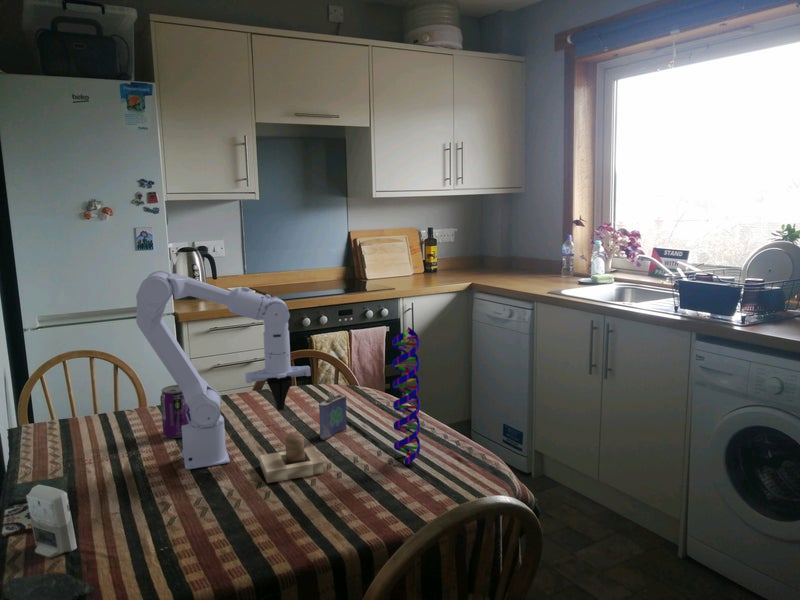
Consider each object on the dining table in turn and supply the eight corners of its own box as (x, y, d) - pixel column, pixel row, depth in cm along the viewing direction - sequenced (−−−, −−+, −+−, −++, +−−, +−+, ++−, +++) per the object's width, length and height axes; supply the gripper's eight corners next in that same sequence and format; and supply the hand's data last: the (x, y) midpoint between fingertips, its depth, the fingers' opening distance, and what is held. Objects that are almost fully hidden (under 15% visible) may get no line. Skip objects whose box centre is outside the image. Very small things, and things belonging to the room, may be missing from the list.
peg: (288, 474, 137) (287, 443, 135) (284, 466, 140) (283, 436, 139) (307, 470, 138) (306, 440, 137) (302, 463, 142) (301, 433, 141)
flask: (325, 441, 154) (324, 398, 152) (316, 438, 156) (314, 396, 154) (349, 429, 162) (348, 388, 160) (340, 426, 163) (339, 386, 162)
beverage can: (187, 439, 156) (183, 392, 154) (158, 440, 156) (154, 393, 154) (197, 429, 163) (193, 384, 161) (169, 429, 163) (166, 384, 161)
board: (267, 483, 132) (266, 471, 132) (260, 466, 141) (259, 455, 140) (323, 473, 137) (323, 462, 136) (313, 457, 145) (313, 446, 145)
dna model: (418, 467, 139) (416, 332, 134) (391, 465, 140) (389, 332, 135) (422, 455, 145) (421, 327, 140) (397, 454, 146) (395, 326, 141)
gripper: (247, 359, 138) (250, 419, 140) (312, 352, 143) (315, 410, 145) (242, 351, 144) (246, 409, 147) (305, 345, 150) (307, 400, 152)
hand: (279, 408), depth 147 cm, fingers closed
